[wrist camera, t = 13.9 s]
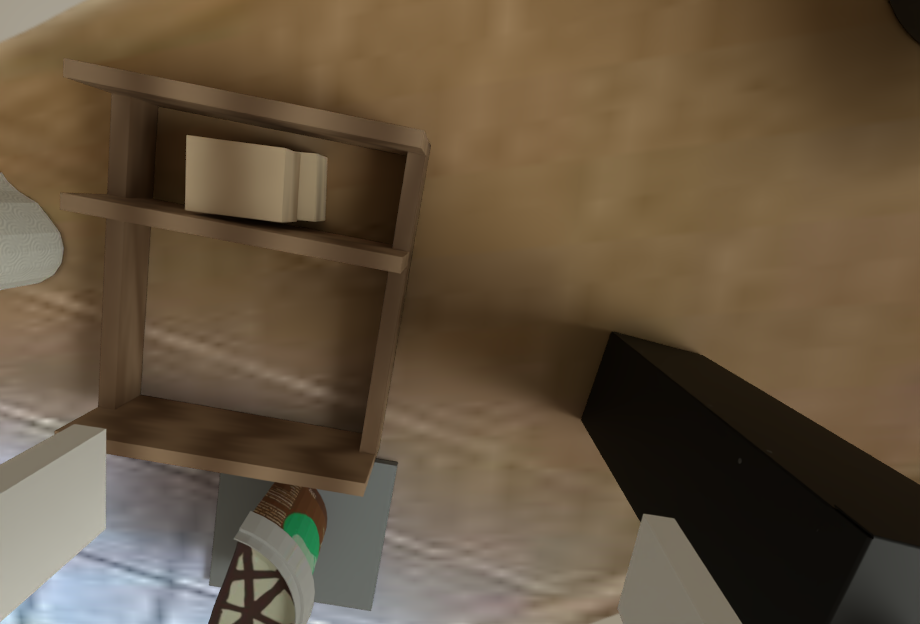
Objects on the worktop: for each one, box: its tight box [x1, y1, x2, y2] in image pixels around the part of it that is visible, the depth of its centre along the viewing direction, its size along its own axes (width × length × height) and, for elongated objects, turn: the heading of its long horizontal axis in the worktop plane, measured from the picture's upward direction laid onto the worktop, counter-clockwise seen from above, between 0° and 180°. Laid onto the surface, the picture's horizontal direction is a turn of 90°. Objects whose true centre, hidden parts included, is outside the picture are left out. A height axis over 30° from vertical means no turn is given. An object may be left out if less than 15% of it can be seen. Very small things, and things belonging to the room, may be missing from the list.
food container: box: [208, 482, 327, 624], centre depth 36 cm, size 12×6×10 cm, turn 158°
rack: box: [55, 58, 431, 497], centre depth 34 cm, size 21×24×7 cm
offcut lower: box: [294, 151, 328, 222], centre depth 35 cm, size 8×4×3 cm, turn 85°
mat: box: [209, 459, 398, 611], centre depth 41 cm, size 14×14×1 cm
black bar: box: [581, 332, 920, 624], centre depth 26 cm, size 8×8×28 cm
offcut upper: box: [185, 135, 301, 222], centre depth 32 cm, size 6×4×3 cm
